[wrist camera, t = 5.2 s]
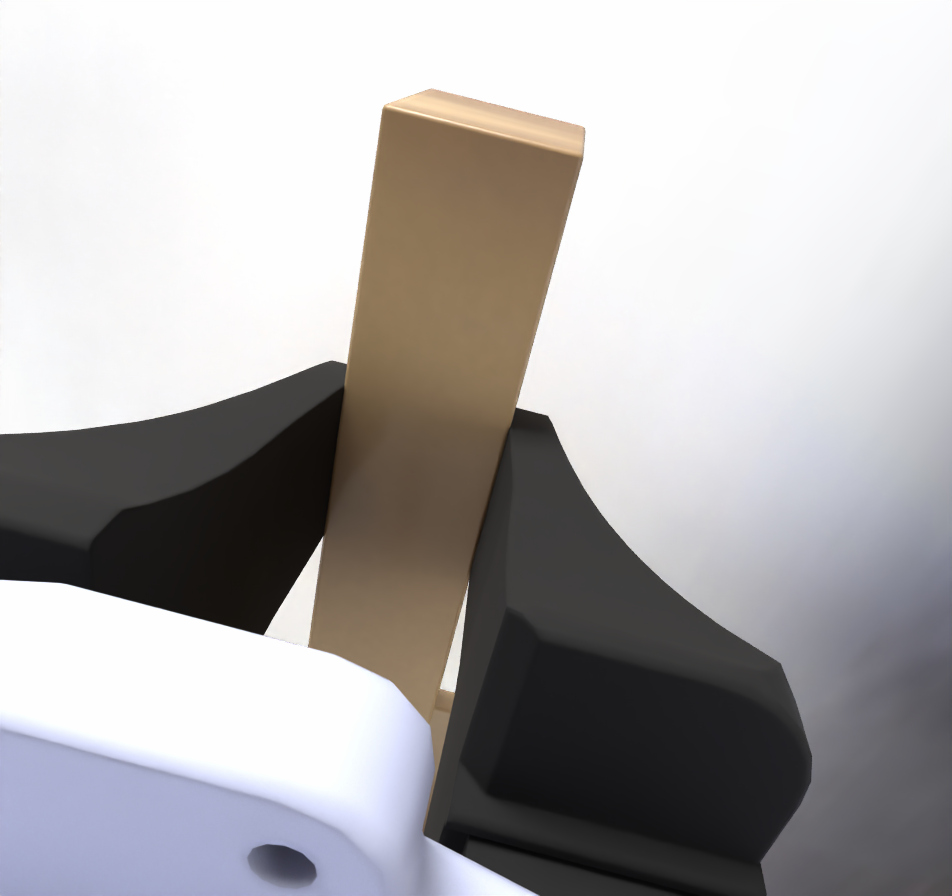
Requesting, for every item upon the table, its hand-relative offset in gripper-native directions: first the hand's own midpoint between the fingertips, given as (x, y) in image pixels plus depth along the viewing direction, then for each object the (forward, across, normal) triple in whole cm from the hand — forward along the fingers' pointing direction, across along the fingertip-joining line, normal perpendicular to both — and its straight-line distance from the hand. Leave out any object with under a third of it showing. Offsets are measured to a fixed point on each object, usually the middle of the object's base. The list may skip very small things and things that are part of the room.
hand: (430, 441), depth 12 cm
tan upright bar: (+1, 0, +5) cm, 5 cm away
